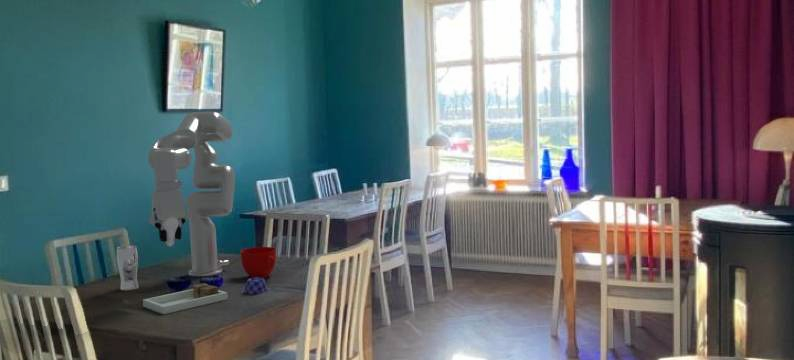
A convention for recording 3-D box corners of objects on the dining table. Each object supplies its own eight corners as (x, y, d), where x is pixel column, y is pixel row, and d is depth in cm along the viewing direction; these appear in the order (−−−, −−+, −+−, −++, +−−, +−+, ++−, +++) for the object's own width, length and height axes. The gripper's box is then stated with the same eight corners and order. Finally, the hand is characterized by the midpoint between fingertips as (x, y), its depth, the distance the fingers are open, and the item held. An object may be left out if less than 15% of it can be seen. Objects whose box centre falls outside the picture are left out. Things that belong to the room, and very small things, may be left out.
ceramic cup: (258, 284, 254) (257, 256, 253) (235, 277, 266) (233, 250, 266) (289, 277, 262) (288, 250, 261) (265, 271, 275) (264, 245, 274)
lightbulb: (183, 245, 242) (181, 213, 241) (172, 248, 237) (170, 215, 236) (168, 244, 244) (166, 212, 243) (156, 247, 239) (155, 215, 238)
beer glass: (132, 291, 250) (129, 249, 248) (115, 290, 251) (111, 248, 250) (143, 286, 257) (140, 245, 255) (126, 286, 258) (123, 245, 257)
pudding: (238, 291, 245) (237, 276, 244) (273, 288, 248) (272, 273, 247) (238, 300, 233) (237, 284, 233) (275, 297, 236) (274, 281, 235)
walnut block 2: (210, 297, 234) (209, 285, 233) (218, 298, 231) (217, 286, 231) (200, 300, 231) (200, 288, 230) (208, 301, 228) (208, 289, 228)
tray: (206, 294, 241) (205, 286, 240) (227, 301, 231) (227, 292, 230) (143, 308, 225) (142, 299, 225) (163, 316, 215) (163, 307, 215)
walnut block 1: (205, 294, 237) (204, 283, 237) (209, 297, 234) (209, 285, 234) (193, 297, 235) (192, 285, 235) (198, 299, 232) (197, 287, 232)
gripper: (185, 183, 247) (188, 235, 249) (137, 188, 236) (141, 242, 237) (195, 184, 242) (199, 237, 244) (147, 189, 230) (151, 245, 232)
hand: (170, 239), depth 241 cm, fingers closed on lightbulb, 4 cm apart
